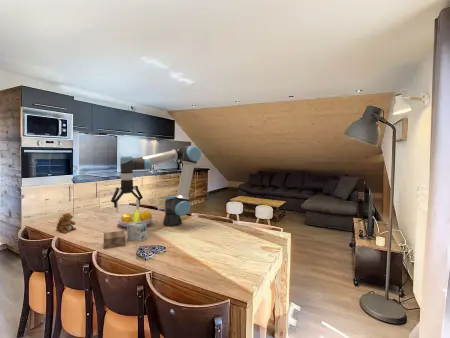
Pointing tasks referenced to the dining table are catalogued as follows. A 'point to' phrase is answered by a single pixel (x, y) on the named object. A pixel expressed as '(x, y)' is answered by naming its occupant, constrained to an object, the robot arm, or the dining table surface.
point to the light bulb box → (136, 231)
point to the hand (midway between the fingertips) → (127, 210)
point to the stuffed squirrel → (65, 223)
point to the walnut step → (114, 239)
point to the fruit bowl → (135, 218)
